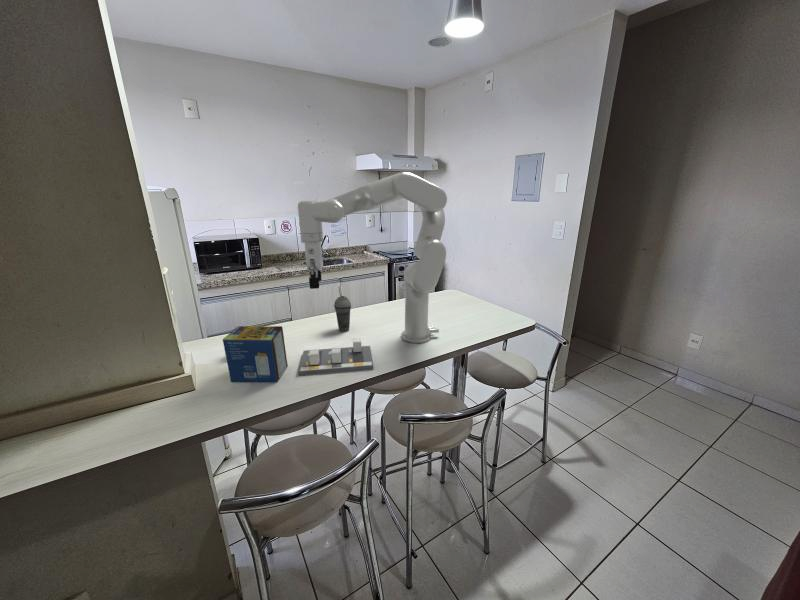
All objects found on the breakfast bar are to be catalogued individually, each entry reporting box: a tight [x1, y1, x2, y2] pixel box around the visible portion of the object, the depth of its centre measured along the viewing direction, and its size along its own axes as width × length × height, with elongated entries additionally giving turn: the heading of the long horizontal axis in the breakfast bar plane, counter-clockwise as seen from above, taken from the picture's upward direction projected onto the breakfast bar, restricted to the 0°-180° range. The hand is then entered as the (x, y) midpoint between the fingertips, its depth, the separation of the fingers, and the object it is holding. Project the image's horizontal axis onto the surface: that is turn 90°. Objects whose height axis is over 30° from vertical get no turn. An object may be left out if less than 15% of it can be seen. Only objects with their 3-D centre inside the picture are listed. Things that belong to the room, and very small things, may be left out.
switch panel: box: [298, 345, 374, 376], centre depth 117 cm, size 25×15×2 cm, turn 99°
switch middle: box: [331, 347, 342, 363], centre depth 114 cm, size 3×3×4 cm
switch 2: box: [352, 337, 362, 352], centre depth 121 cm, size 3×3×4 cm
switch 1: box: [309, 349, 320, 365], centre depth 113 cm, size 3×3×4 cm
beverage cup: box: [333, 286, 352, 333], centre depth 141 cm, size 7×7×20 cm
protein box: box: [222, 325, 289, 384], centre depth 107 cm, size 10×15×16 cm
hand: (316, 284), depth 119 cm, fingers open, 9 cm apart
